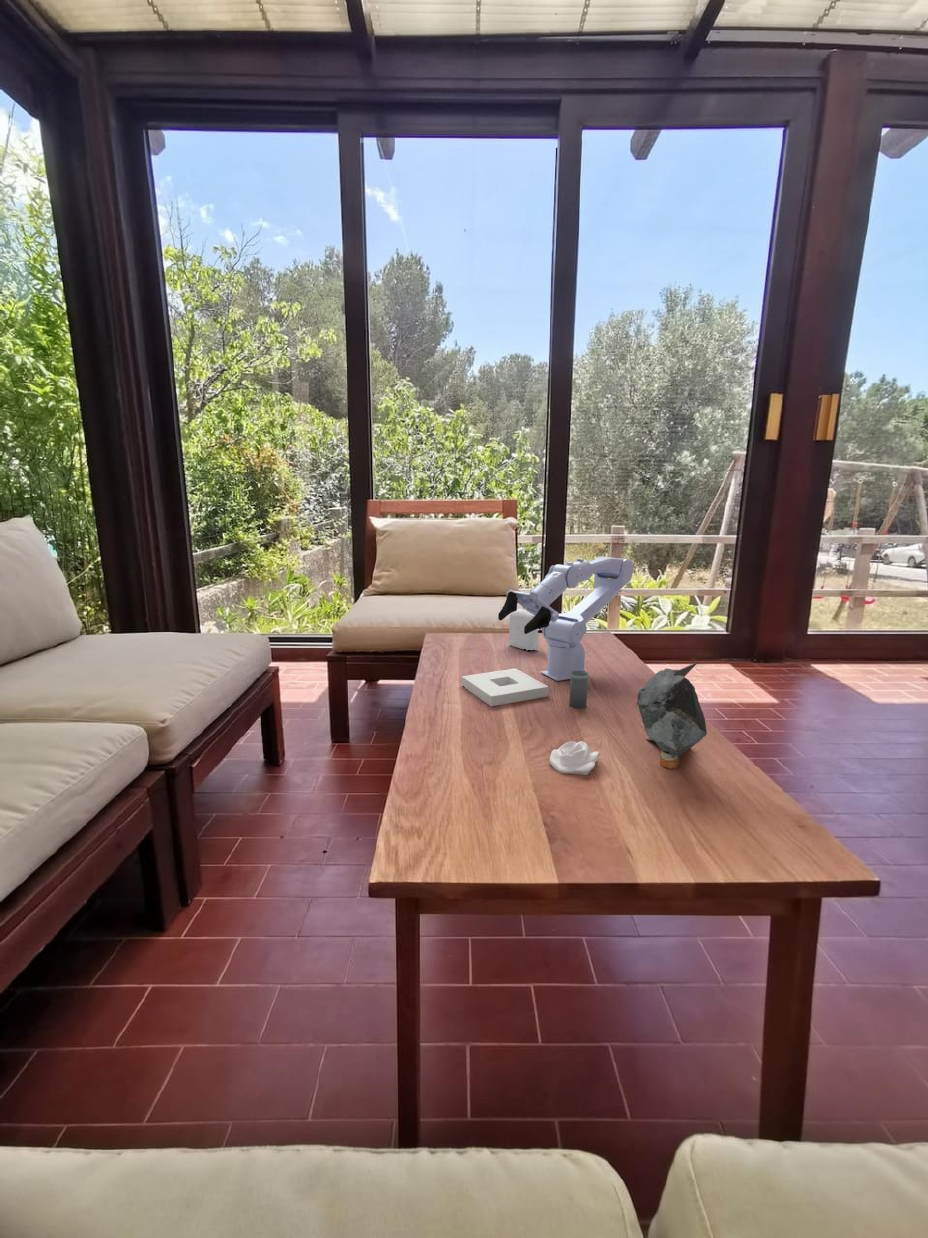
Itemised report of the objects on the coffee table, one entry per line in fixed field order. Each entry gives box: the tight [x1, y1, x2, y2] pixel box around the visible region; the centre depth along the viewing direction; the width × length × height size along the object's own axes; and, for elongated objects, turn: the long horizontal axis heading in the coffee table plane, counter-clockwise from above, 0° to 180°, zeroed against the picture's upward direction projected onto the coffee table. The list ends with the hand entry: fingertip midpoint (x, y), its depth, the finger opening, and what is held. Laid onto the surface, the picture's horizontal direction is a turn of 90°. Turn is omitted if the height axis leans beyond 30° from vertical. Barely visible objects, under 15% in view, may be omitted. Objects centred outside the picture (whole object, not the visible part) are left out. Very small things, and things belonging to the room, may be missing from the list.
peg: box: [568, 670, 589, 710], centre depth 139 cm, size 4×4×8 cm
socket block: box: [461, 668, 550, 707], centre depth 149 cm, size 16×16×2 cm
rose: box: [549, 740, 601, 776], centre depth 111 cm, size 10×4×10 cm
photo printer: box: [508, 608, 539, 651], centre depth 187 cm, size 10×4×12 cm, turn 39°
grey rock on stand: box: [636, 661, 708, 770], centre depth 112 cm, size 14×15×18 cm
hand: (512, 623), depth 143 cm, fingers open, 7 cm apart
